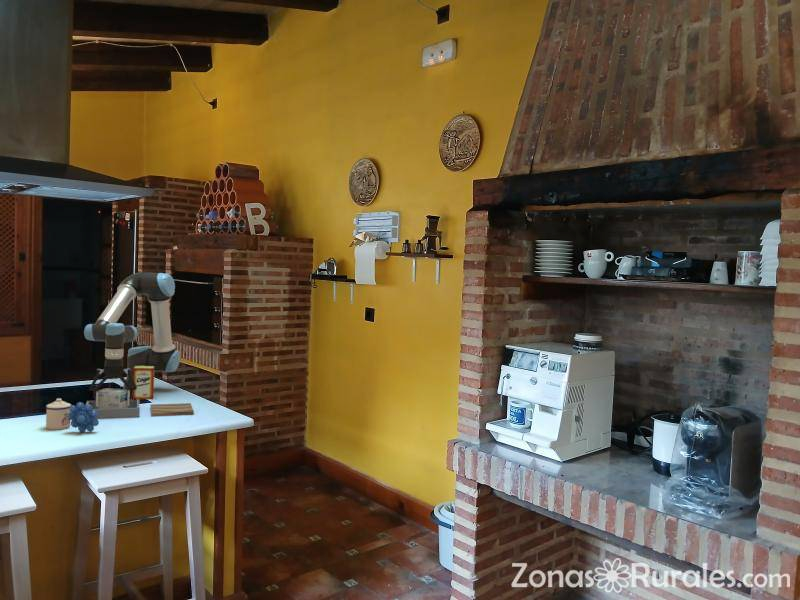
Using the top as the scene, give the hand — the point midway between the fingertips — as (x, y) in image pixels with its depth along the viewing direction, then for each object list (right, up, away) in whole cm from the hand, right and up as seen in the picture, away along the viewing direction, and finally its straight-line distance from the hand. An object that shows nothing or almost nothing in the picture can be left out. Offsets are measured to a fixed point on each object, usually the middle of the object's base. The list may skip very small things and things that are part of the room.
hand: (112, 405), depth 281 cm
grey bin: (0, -3, 0) cm, 3 cm away
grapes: (+3, -5, -33) cm, 34 cm away
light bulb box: (0, -4, 0) cm, 4 cm away
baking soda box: (-1, -2, +35) cm, 35 cm away
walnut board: (+23, -4, +10) cm, 25 cm away
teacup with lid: (-10, -4, -26) cm, 28 cm away
